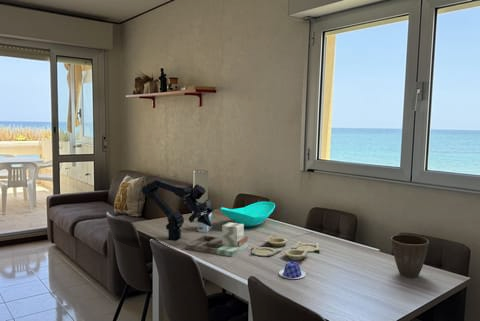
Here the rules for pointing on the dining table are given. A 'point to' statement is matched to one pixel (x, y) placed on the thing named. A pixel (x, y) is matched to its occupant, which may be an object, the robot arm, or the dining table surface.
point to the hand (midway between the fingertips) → (210, 226)
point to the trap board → (216, 245)
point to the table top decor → (250, 213)
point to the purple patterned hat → (292, 271)
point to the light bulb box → (204, 227)
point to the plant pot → (409, 254)
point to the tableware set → (294, 253)
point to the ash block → (232, 233)
